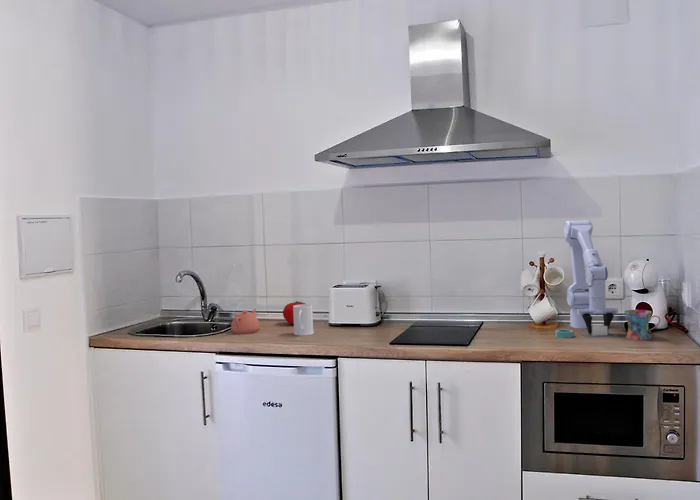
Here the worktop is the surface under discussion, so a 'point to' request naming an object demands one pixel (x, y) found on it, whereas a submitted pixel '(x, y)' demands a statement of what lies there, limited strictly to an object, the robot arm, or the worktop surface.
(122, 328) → the worktop surface
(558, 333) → the bowl
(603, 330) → the white block
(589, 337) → the mat
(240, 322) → the teapot
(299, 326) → the mug
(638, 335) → the mug
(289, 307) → the tomato
